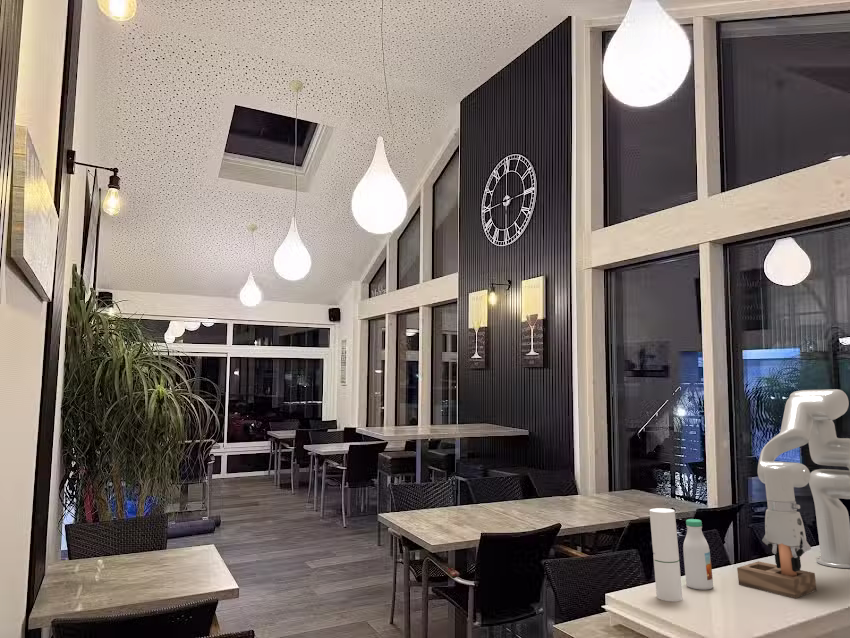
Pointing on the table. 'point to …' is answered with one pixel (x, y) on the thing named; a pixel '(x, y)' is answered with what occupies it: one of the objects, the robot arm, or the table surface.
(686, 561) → the milk bottle
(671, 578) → the cylindrical container
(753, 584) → the socket block
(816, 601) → the table surface
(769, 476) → the robot arm
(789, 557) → the pin
